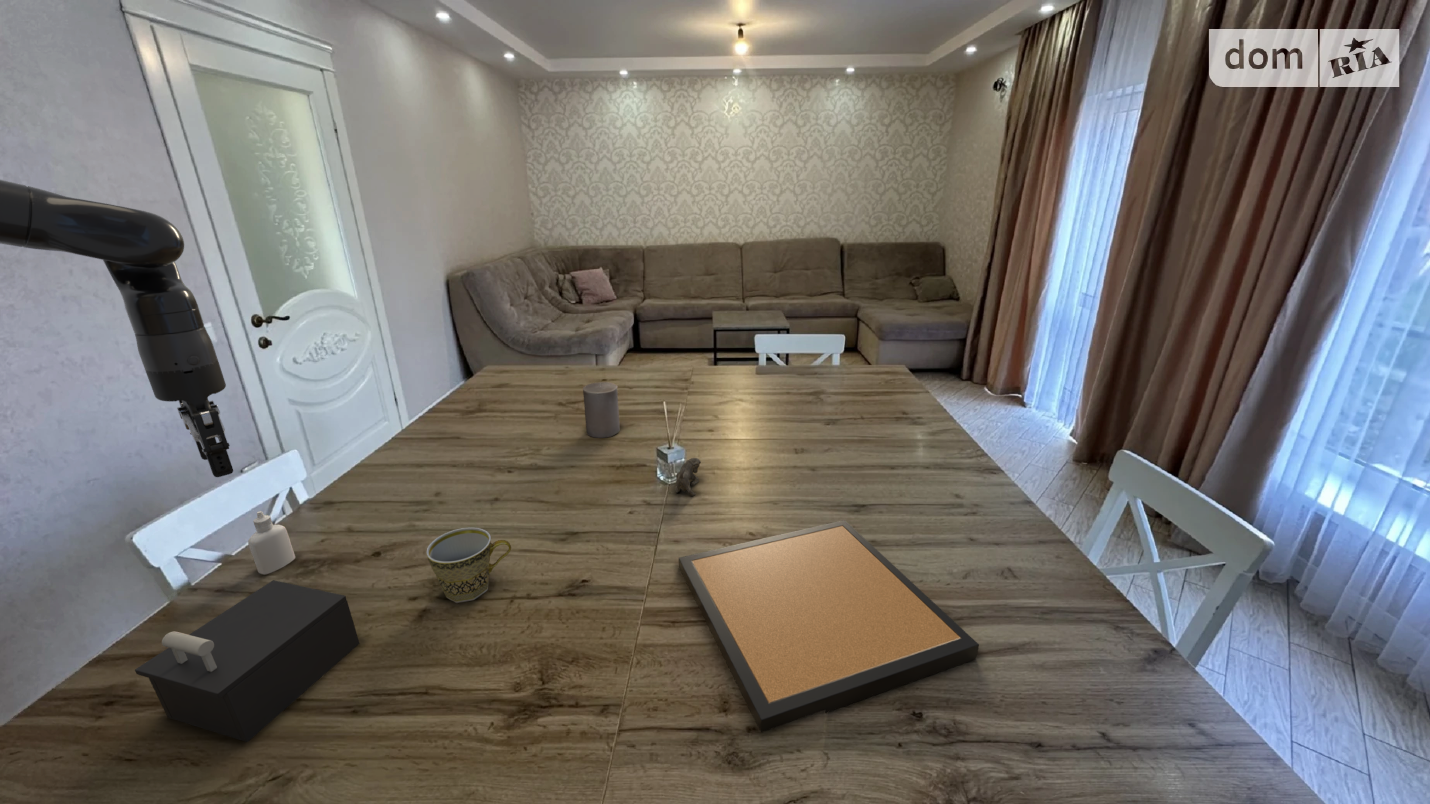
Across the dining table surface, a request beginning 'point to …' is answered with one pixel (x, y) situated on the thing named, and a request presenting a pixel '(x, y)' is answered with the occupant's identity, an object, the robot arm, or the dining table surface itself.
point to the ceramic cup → (463, 562)
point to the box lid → (239, 638)
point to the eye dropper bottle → (270, 545)
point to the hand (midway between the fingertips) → (217, 466)
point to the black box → (265, 682)
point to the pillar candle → (601, 409)
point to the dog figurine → (687, 476)
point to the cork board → (818, 621)
